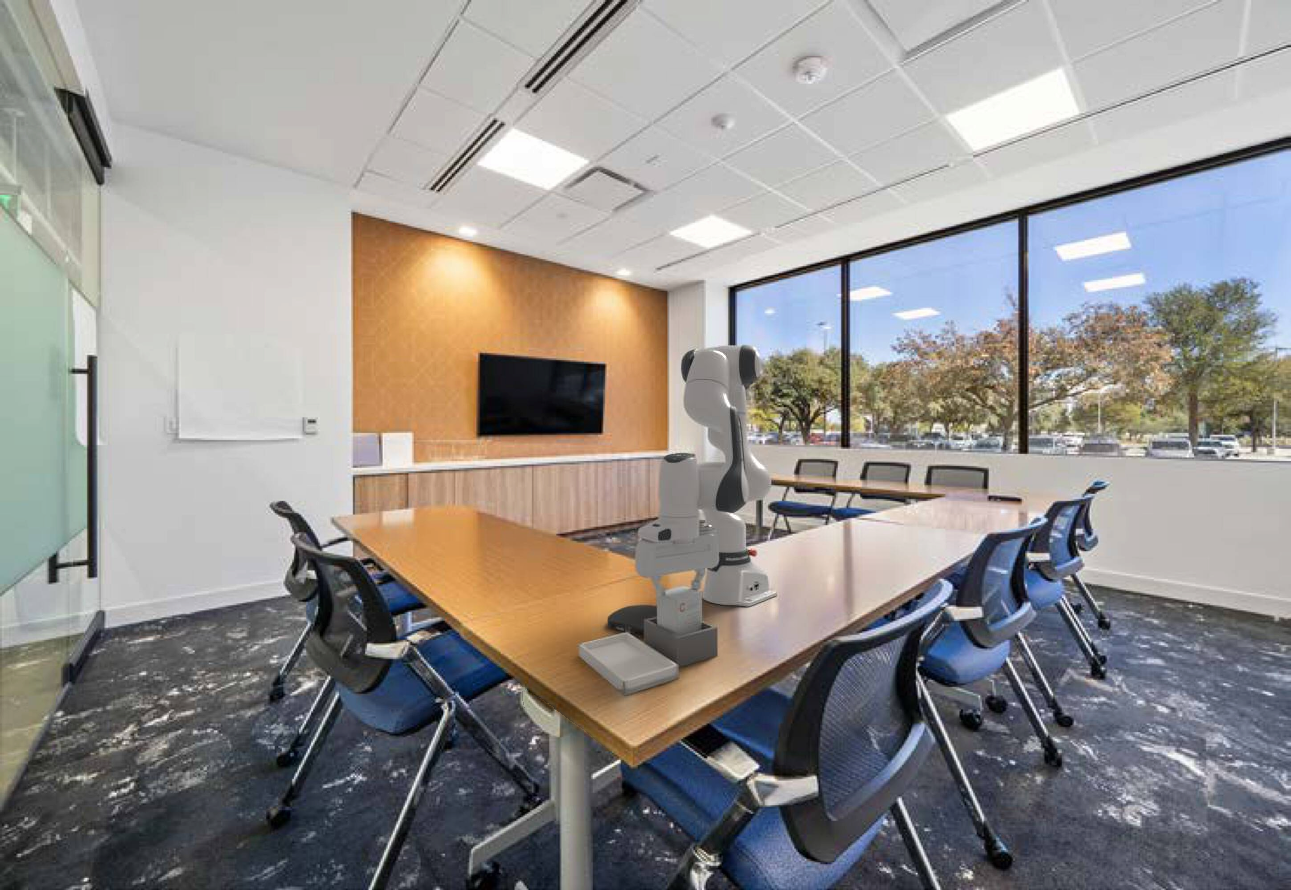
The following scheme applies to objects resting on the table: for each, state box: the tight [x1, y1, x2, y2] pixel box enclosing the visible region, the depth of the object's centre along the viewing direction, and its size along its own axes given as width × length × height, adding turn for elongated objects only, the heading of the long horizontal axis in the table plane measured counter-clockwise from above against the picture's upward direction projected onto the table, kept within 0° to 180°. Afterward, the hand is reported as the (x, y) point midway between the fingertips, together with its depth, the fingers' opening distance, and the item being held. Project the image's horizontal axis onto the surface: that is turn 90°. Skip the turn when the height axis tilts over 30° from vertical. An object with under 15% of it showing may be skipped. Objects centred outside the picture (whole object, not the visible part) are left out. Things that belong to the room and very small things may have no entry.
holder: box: [643, 617, 719, 668], centre depth 111 cm, size 11×13×6 cm
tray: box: [578, 632, 680, 696], centre depth 104 cm, size 12×20×2 cm, turn 32°
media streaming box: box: [607, 604, 657, 639], centre depth 127 cm, size 15×15×3 cm
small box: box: [656, 585, 703, 636], centre depth 111 cm, size 8×6×13 cm
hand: (678, 592), depth 110 cm, fingers open, 8 cm apart
